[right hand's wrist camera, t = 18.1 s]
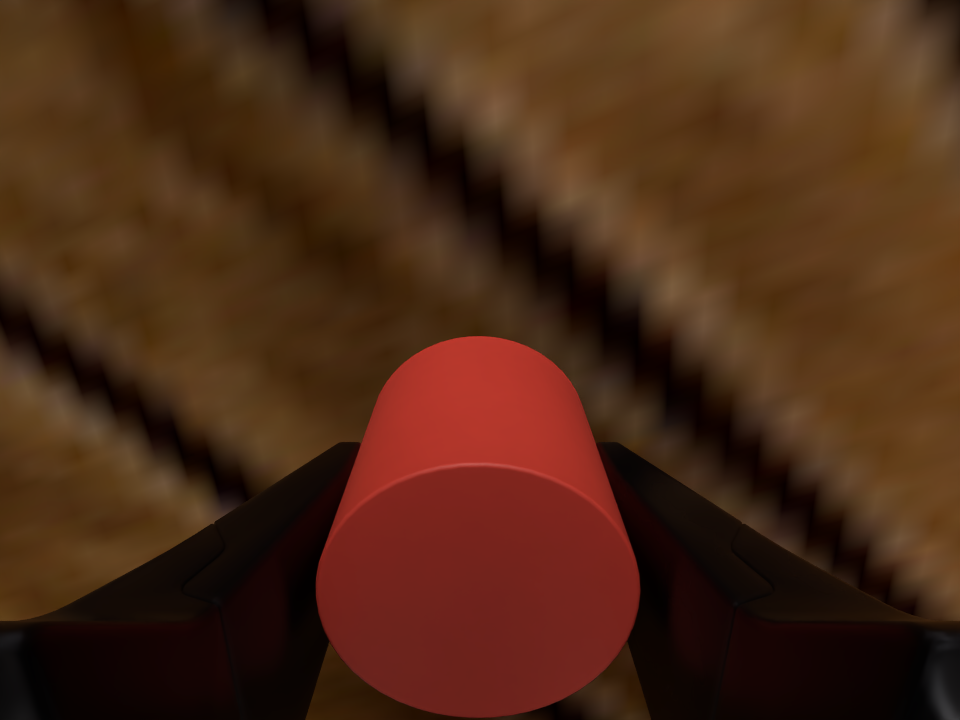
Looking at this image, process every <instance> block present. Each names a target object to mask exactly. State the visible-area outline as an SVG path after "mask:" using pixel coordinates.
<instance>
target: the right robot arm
mask: <svg viewBox="0 0 960 720" xmlns="http://www.w3.org/2000/svg"><path fill="white" fill-rule="evenodd" d="M360 446H361V443H359V442H340V443H338V444H336V445H335V446H333V447H331V448H330V449H328V450H327V451H325V452H324V453H322V454H320V455H319V456H317V457H316V458H314V459H313V460H311V461H310V462H308V463H306V464H305V465H303V466H302V467H300V468H299V469H297V470H295V471H294V472H292V473H291V474H289V475H288V476H286V477H284V478H283V479H281V480H280V481H278V482H277V483H275V484H273V485H272V486H270V487H269V488H267V489H266V490H264V491H262V492H261V493H259V494H258V495H256V496H255V497H253V498H251V499H250V500H248V501H247V502H245V503H244V504H242V505H240V506H239V507H237V508H236V509H234V510H233V511H231V512H229V513H228V514H226V515H225V516H223V517H222V518H220V519H218V520H217V521H215V523H214V524H210V525H209V526H207V527H206V528H204V529H203V530H201V531H200V532H198V533H196V534H195V535H193V536H192V537H190V538H188V539H187V540H185V541H183V542H182V543H180V544H178V545H177V546H175V547H173V548H172V549H170V550H168V551H167V552H165V553H163V554H161V555H159V556H158V557H156V558H154V559H152V560H150V561H148V562H147V563H145V564H143V565H141V566H139V567H138V568H136V569H134V570H132V571H130V572H128V573H126V574H125V575H123V576H121V577H119V578H117V579H115V580H113V581H111V582H110V583H108V584H106V585H104V586H102V587H100V588H98V589H97V590H95V591H93V592H91V593H89V594H87V595H85V596H84V597H82V598H80V599H78V600H76V601H74V602H72V603H70V604H69V605H67V606H64V607H62V608H60V609H58V610H56V611H53V612H51V613H48V614H45V615H43V616H39V617H35V618H31V619H27V620H20V621H0V720H305V718H306V715H307V712H308V709H309V705H310V702H311V699H312V696H313V692H314V689H315V686H316V683H317V680H318V676H319V673H320V670H321V667H322V663H323V660H324V657H325V654H326V650H327V647H328V644H329V639H328V637H327V635H326V633H325V631H324V629H323V626H322V623H321V620H320V617H319V613H318V607H317V601H316V576H317V570H318V565H319V561H320V558H321V555H322V552H323V549H324V547H325V544H326V541H327V538H328V535H329V533H330V530H331V527H332V524H333V522H334V519H335V516H336V513H337V510H338V508H339V505H340V502H341V499H342V496H343V494H344V491H345V488H346V485H347V483H348V480H349V477H350V474H351V471H352V469H353V466H354V463H355V460H356V457H357V455H358V452H359V449H360ZM596 446H597V449H598V452H599V455H600V458H601V460H602V463H603V466H604V469H605V472H606V475H607V478H608V480H609V483H610V486H611V489H612V492H613V495H614V498H615V500H616V503H617V506H618V509H619V512H620V515H621V518H622V520H623V523H624V526H625V529H626V532H627V535H628V538H629V541H630V543H631V546H632V549H633V552H634V555H635V558H636V562H637V566H638V571H639V577H640V600H639V608H638V612H637V616H636V619H635V623H634V626H633V629H632V631H631V633H630V635H629V638H628V640H627V641H628V645H629V648H630V651H631V654H632V658H633V661H634V664H635V667H636V671H637V674H638V677H639V681H640V684H641V687H642V690H643V694H644V697H645V700H646V703H647V707H648V710H649V713H650V717H651V720H960V621H935V620H928V619H924V618H920V617H916V616H912V615H910V614H907V613H904V612H902V611H899V610H897V609H895V608H893V607H891V606H889V605H887V604H885V603H883V602H881V601H879V600H877V599H875V598H874V597H872V596H870V595H868V594H866V593H864V592H863V591H861V590H859V589H857V588H855V587H853V586H851V585H850V584H848V583H846V582H844V581H842V580H840V579H838V578H837V577H835V576H833V575H831V574H829V573H827V572H826V571H824V570H822V569H820V568H818V567H816V566H814V565H813V564H811V563H809V562H807V561H805V560H804V559H802V558H800V557H798V556H797V555H795V554H793V553H791V552H789V551H788V550H786V549H784V548H783V547H781V546H779V545H778V544H776V543H774V542H773V541H771V540H769V539H768V538H766V537H765V536H763V535H761V534H760V533H758V532H757V531H755V530H754V529H752V528H750V527H749V526H747V525H746V524H742V522H741V521H739V520H738V519H736V518H735V517H733V516H732V515H730V514H728V513H727V512H725V511H724V510H722V509H721V508H719V507H718V506H716V505H714V504H713V503H711V502H710V501H708V500H707V499H705V498H704V497H702V496H700V495H699V494H697V493H696V492H694V491H693V490H691V489H690V488H688V487H686V486H685V485H683V484H682V483H680V482H679V481H677V480H676V479H674V478H672V477H671V476H669V475H668V474H666V473H665V472H663V471H662V470H660V469H658V468H657V467H655V466H654V465H652V464H651V463H649V462H648V461H646V460H644V459H643V458H641V457H640V456H638V455H637V454H635V453H634V452H632V451H630V450H629V449H627V448H626V447H624V446H623V445H621V444H619V443H617V442H599V443H597V444H596Z"/></svg>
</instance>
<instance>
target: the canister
mask: <svg viewBox="0 0 960 720" xmlns="http://www.w3.org/2000/svg"><path fill="white" fill-rule="evenodd" d="M639 600H640V577H639V571H638V566H637V562H636V558H635V555H634V552H633V549H632V546H631V543H630V541H629V538H628V535H627V532H626V529H625V526H624V523H623V520H622V518H621V515H620V512H619V509H618V506H617V503H616V500H615V498H614V495H613V492H612V489H611V486H610V483H609V480H608V478H607V475H606V472H605V469H604V466H603V463H602V460H601V458H600V455H599V452H598V449H597V446H596V443H595V440H594V438H593V435H592V432H591V429H590V426H589V423H588V420H587V418H586V415H585V412H584V409H583V406H582V403H581V401H580V399H579V396H578V394H577V392H576V390H575V388H574V387H573V385H572V383H571V382H570V380H569V379H568V378H567V377H566V375H565V374H564V373H563V372H562V371H561V370H560V369H559V368H558V367H557V366H556V365H555V364H554V363H553V362H552V361H550V360H549V359H548V358H546V357H545V356H543V355H542V354H540V353H539V352H537V351H535V350H533V349H531V348H529V347H527V346H525V345H522V344H519V343H517V342H514V341H510V340H506V339H501V338H495V337H486V336H473V337H462V338H455V339H451V340H447V341H444V342H440V343H438V344H435V345H433V346H430V347H428V348H426V349H424V350H422V351H420V352H419V353H417V354H415V355H414V356H412V357H411V358H410V359H408V360H407V361H406V362H404V363H403V364H402V365H401V366H400V367H399V368H398V369H397V370H396V371H395V372H394V373H393V374H392V376H391V377H390V378H389V380H388V381H387V382H386V384H385V385H384V387H383V389H382V391H381V393H380V394H379V396H378V399H377V402H376V405H375V407H374V410H373V413H372V416H371V418H370V421H369V424H368V427H367V430H366V432H365V435H364V438H363V441H362V444H361V446H360V449H359V452H358V455H357V457H356V460H355V463H354V466H353V469H352V471H351V474H350V477H349V480H348V483H347V485H346V488H345V491H344V494H343V496H342V499H341V502H340V505H339V508H338V510H337V513H336V516H335V519H334V522H333V524H332V527H331V530H330V533H329V535H328V538H327V541H326V544H325V547H324V549H323V552H322V555H321V558H320V561H319V565H318V570H317V576H316V601H317V607H318V613H319V617H320V620H321V623H322V626H323V629H324V631H325V633H326V635H327V637H328V639H329V641H330V643H331V645H332V647H333V648H334V649H335V651H336V652H337V654H338V655H339V657H340V658H341V659H342V660H343V661H344V663H345V664H346V665H347V666H348V667H349V668H350V669H351V670H352V671H353V672H354V673H355V674H356V675H358V676H359V677H360V678H361V679H362V680H363V681H365V682H366V683H367V684H369V685H370V686H372V687H373V688H375V689H376V690H378V691H379V692H381V693H383V694H385V695H386V696H388V697H390V698H392V699H394V700H396V701H398V702H401V703H403V704H406V705H409V706H411V707H414V708H417V709H421V710H424V711H428V712H431V713H436V714H442V715H447V716H454V717H466V718H492V717H501V716H510V715H515V714H520V713H525V712H529V711H532V710H536V709H539V708H542V707H545V706H548V705H550V704H553V703H555V702H557V701H560V700H562V699H564V698H566V697H568V696H570V695H571V694H573V693H575V692H577V691H579V690H580V689H582V688H583V687H584V686H586V685H587V684H589V683H590V682H591V681H593V680H594V679H595V678H596V677H598V676H599V675H600V674H601V673H602V672H603V671H604V670H605V669H606V668H607V667H608V666H609V665H610V664H611V663H612V661H613V660H614V659H615V658H616V657H617V656H618V654H619V653H620V651H621V649H622V648H623V646H624V645H625V643H626V642H627V640H628V638H629V635H630V633H631V631H632V629H633V626H634V623H635V619H636V616H637V612H638V608H639Z"/></svg>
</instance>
